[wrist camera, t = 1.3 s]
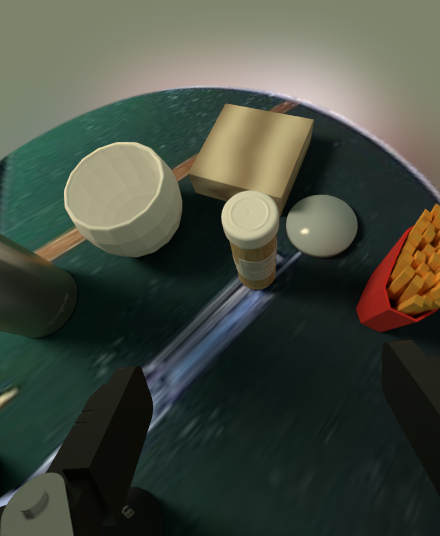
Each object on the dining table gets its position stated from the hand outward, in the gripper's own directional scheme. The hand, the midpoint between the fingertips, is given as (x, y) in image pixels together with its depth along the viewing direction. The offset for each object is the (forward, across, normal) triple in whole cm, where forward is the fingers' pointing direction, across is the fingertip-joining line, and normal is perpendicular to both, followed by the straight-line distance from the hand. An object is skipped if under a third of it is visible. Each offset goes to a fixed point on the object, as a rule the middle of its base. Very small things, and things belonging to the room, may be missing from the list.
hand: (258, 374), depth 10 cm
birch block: (+36, -2, -3) cm, 36 cm away
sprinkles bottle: (+25, 0, +8) cm, 27 cm away
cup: (+31, +13, +2) cm, 34 cm away
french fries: (+22, -13, +11) cm, 28 cm away
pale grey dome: (+29, -8, +4) cm, 30 cm away
